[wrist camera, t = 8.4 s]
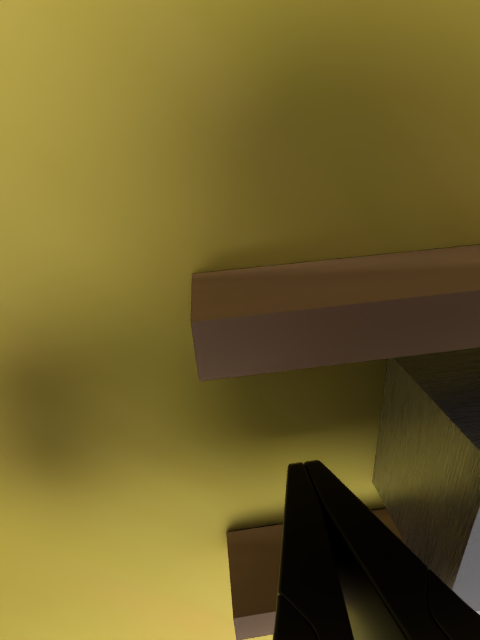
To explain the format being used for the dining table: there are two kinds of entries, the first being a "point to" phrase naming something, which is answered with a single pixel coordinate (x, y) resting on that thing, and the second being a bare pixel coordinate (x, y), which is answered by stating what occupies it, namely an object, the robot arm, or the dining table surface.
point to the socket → (434, 462)
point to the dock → (324, 352)
